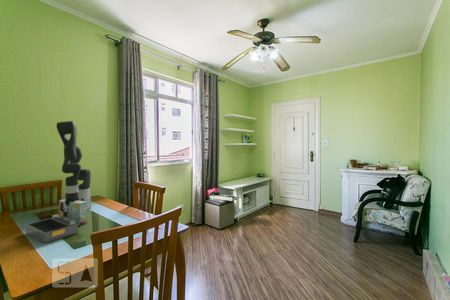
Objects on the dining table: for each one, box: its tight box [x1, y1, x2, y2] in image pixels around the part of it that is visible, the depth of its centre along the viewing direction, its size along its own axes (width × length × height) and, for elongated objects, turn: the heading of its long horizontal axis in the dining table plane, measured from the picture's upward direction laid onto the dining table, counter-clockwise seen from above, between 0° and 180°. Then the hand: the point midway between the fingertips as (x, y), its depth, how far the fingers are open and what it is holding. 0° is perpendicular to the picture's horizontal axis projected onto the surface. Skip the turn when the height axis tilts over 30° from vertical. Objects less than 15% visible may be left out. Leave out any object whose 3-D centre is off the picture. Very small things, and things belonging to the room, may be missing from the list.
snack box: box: [58, 198, 88, 226], centre depth 144 cm, size 21×6×15 cm, turn 71°
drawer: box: [25, 213, 79, 245], centre depth 126 cm, size 16×26×8 cm, turn 60°
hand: (72, 215), depth 144 cm, fingers open, 7 cm apart
